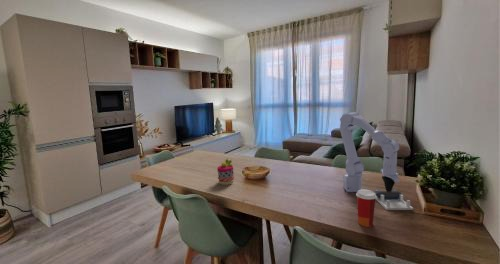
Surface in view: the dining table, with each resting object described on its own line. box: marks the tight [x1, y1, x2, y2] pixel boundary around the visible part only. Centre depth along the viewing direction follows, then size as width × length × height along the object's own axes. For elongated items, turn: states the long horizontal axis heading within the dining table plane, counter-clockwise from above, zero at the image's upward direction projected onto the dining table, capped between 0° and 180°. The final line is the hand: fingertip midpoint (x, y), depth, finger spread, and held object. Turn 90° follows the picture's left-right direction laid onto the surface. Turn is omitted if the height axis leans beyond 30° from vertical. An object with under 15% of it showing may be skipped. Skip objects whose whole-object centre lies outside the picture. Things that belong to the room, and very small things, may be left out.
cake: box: [217, 158, 235, 186], centre depth 155 cm, size 10×11×15 cm
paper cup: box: [355, 188, 377, 228], centre depth 101 cm, size 8×8×14 cm
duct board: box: [374, 189, 414, 211], centre depth 118 cm, size 12×15×4 cm
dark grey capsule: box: [376, 190, 402, 198], centre depth 121 cm, size 12×4×4 cm, turn 86°
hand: (388, 190), depth 121 cm, fingers closed
